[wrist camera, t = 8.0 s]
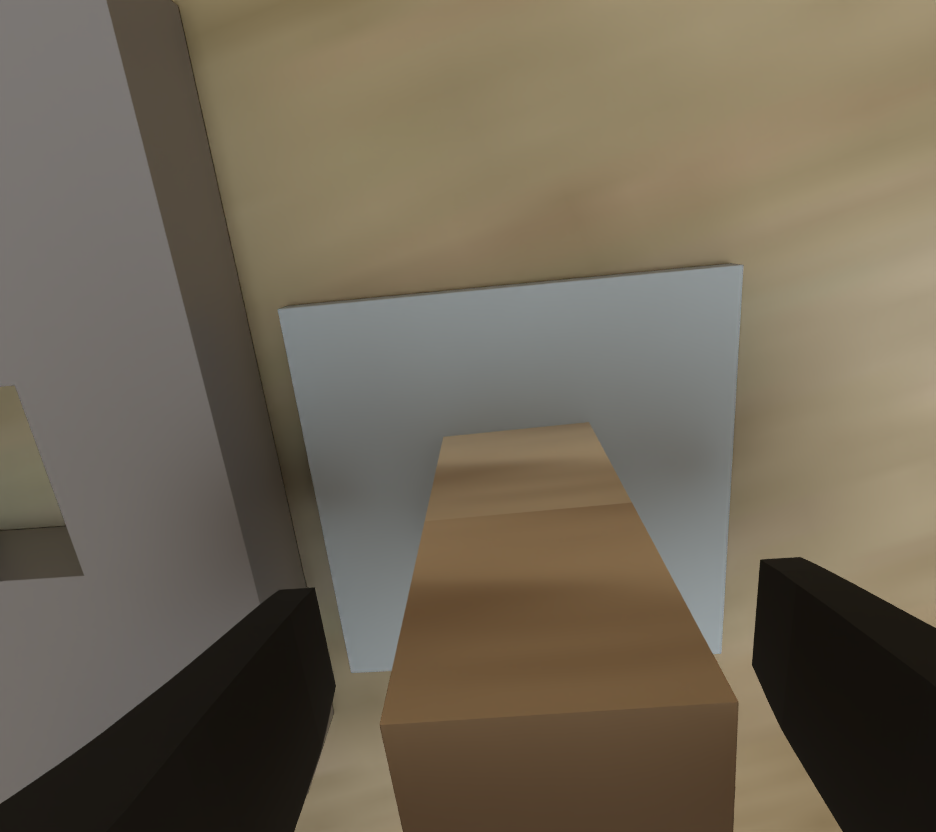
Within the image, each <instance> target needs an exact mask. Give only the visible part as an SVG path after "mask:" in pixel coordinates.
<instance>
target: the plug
mask: <svg viewBox="0 0 936 832" xmlns="http://www.w3.org/2000/svg"><path fill="white" fill-rule="evenodd" d="M737 726H738V700H737V698H736V696H735V695H734V693H733V691H732V689H731V687H730V685H729V683H728V681H727V680H726V678H725V676H724V674H723V672H722V670H721V668H720V666H719V665H718V663H717V661H716V659H715V657H714V655H713V653H712V651H711V650H710V648H709V646H708V644H707V642H706V640H705V638H704V637H703V635H702V633H701V631H700V629H699V627H698V625H697V623H696V622H695V620H694V618H693V616H692V614H691V612H690V610H689V608H688V607H687V605H686V603H685V601H684V599H683V597H682V595H681V593H680V592H679V590H678V588H677V586H676V584H675V582H674V580H673V578H672V577H671V575H670V573H669V571H668V569H667V567H666V565H665V563H664V562H663V560H662V558H661V556H660V554H659V552H658V550H657V548H656V547H655V545H654V543H653V541H652V539H651V537H650V535H649V533H648V532H647V530H646V528H645V526H644V524H643V522H642V520H641V519H640V517H639V515H638V513H637V511H636V509H635V507H634V505H633V504H632V502H631V500H630V498H629V496H628V494H627V492H626V490H625V489H624V487H623V485H622V483H621V481H620V479H619V477H618V475H617V474H616V472H615V470H614V468H613V466H612V464H611V462H610V460H609V459H608V457H607V455H606V453H605V451H604V449H603V447H602V445H601V444H600V442H599V440H598V438H597V436H596V434H595V432H594V430H593V429H592V427H591V425H590V423H589V422H585V423H575V424H565V425H555V426H545V427H536V428H526V429H516V430H506V431H496V432H486V433H476V434H466V435H456V436H446V437H443V440H442V445H441V449H440V454H439V458H438V463H437V467H436V472H435V476H434V481H433V486H432V490H431V495H430V499H429V504H428V508H427V513H426V517H425V522H424V526H423V531H422V535H421V540H420V544H419V549H418V554H417V558H416V563H415V567H414V572H413V576H412V581H411V585H410V590H409V594H408V599H407V603H406V608H405V612H404V617H403V622H402V626H401V631H400V635H399V640H398V644H397V649H396V653H395V658H394V662H393V667H392V671H391V676H390V680H389V685H388V690H387V694H386V699H385V703H384V708H383V712H382V717H381V721H380V729H381V733H382V738H383V743H384V747H385V752H386V756H387V761H388V765H389V770H390V775H391V779H392V784H393V788H394V793H395V797H396V802H397V806H398V811H399V816H400V820H401V825H402V829H403V832H733V823H734V799H735V775H736V750H737Z"/></svg>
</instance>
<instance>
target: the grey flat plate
mask: <svg viewBox="0 0 936 832" xmlns="http://www.w3.org/2000/svg"><path fill="white" fill-rule="evenodd" d="M12 385H15V387H16V390H17V393H18V396H19V398H20V401H21V404H22V407H23V409H24V412H25V415H26V418H27V420H28V423H29V426H30V428H31V431H32V434H33V437H34V439H35V442H36V445H37V448H38V450H39V453H40V456H41V459H42V461H43V464H44V467H45V470H46V472H47V475H48V478H49V480H50V483H51V486H52V489H53V491H54V494H55V497H56V500H57V502H58V505H59V508H60V511H61V513H62V516H63V519H64V522H65V524H66V526H62V527H48V528H34V529H20V530H7V531H0V804H1V803H2V802H4V801H5V800H7V799H8V798H10V797H11V796H13V795H14V794H16V793H17V792H18V791H20V790H21V789H23V788H24V787H26V786H27V785H29V784H30V783H32V782H33V781H35V780H36V779H38V778H39V777H40V776H42V775H43V774H45V773H46V772H48V771H49V770H51V769H52V768H54V767H55V766H57V765H58V764H59V763H61V762H62V761H64V760H65V759H66V758H68V757H69V756H71V755H72V754H73V753H75V752H76V751H78V750H79V749H80V748H82V747H83V746H85V745H86V744H87V743H89V742H90V741H91V740H93V739H94V738H95V737H97V736H98V735H100V734H101V733H102V732H104V731H105V730H106V729H107V728H109V727H110V726H111V725H113V724H114V723H115V722H116V721H118V720H119V719H120V718H122V717H123V716H124V715H125V714H127V713H128V712H129V711H131V710H132V709H133V708H134V707H136V706H137V705H138V704H140V703H141V702H142V701H143V700H145V699H146V698H147V697H148V696H150V695H151V694H152V693H154V692H155V691H156V690H157V689H159V688H160V687H161V686H163V685H164V684H165V683H166V682H168V681H169V680H170V679H171V678H173V677H174V676H175V675H176V674H178V673H179V672H180V671H181V670H182V669H184V668H185V667H186V666H187V665H188V664H190V663H191V662H192V661H193V660H194V659H196V658H197V657H198V656H199V655H200V654H202V653H203V652H204V651H205V650H206V649H208V648H209V647H210V646H211V645H212V644H213V643H215V642H216V641H217V640H218V639H219V638H221V637H222V636H223V635H224V634H225V633H227V632H228V631H229V630H230V629H231V628H232V627H234V626H235V625H236V624H237V623H238V622H240V621H241V620H242V619H243V618H244V617H245V616H247V615H248V614H249V613H250V612H251V611H253V610H254V609H255V608H256V607H257V606H259V605H260V604H261V603H262V602H264V601H265V600H266V599H267V598H269V597H270V596H271V595H273V594H274V593H275V592H277V591H278V590H282V589H298V588H306V584H305V579H304V575H303V570H302V566H301V561H300V557H299V552H298V548H297V543H296V539H295V534H294V530H293V525H292V520H291V516H290V511H289V507H288V502H287V498H286V493H285V489H284V484H283V480H282V475H281V471H280V466H279V462H278V457H277V453H276V448H275V443H274V439H273V434H272V430H271V425H270V421H269V416H268V412H267V407H266V403H265V398H264V394H263V389H262V385H261V380H260V376H259V371H258V366H257V362H256V357H255V353H254V348H253V344H252V339H251V335H250V330H249V326H248V321H247V317H246V312H245V308H244V303H243V299H242V294H241V289H240V285H239V280H238V276H237V271H236V267H235V262H234V258H233V253H232V249H231V244H230V240H229V235H228V231H227V226H226V222H225V217H224V212H223V208H222V203H221V199H220V194H219V190H218V185H217V181H216V176H215V172H214V167H213V163H212V158H211V154H210V149H209V145H208V140H207V135H206V131H205V126H204V122H203V117H202V113H201V108H200V104H199V99H198V95H197V90H196V86H195V81H194V77H193V72H192V68H191V63H190V58H189V54H188V49H187V45H186V40H185V36H184V31H183V27H182V22H181V18H180V13H179V9H178V5H177V4H175V3H174V2H173V1H171V0H0V387H1V386H12ZM333 715H334V711H333V706H331V711H330V716H329V721H328V725H327V730H326V734H325V738H324V742H323V746H324V743H325V739H326V736H327V733H328V730H329V727H330V724H331V721H332V718H333ZM322 749H323V747H322ZM321 752H322V751H321ZM320 755H321V754H320ZM319 758H320V757H319ZM318 761H319V760H318ZM317 764H318V763H317ZM316 767H317V766H316ZM315 771H316V769H315ZM314 774H315V772H314ZM313 777H314V775H313ZM312 780H313V778H312ZM311 783H312V781H311ZM310 786H311V784H310ZM310 786H309V789H310ZM309 789H308V792H309ZM308 792H307V794H308Z"/></svg>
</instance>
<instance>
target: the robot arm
mask: <svg viewBox="0 0 936 832" xmlns="http://www.w3.org/2000/svg"><path fill="white" fill-rule="evenodd" d="M752 666H753V668H754V670H755V673H756V675H757V677H758V679H759V682H760V684H761V686H762V689H763V691H764V693H765V695H766V698H767V700H768V702H769V704H770V706H771V708H772V710H773V713H774V715H775V717H776V719H777V721H778V723H779V725H780V727H781V729H782V731H783V733H784V735H785V736H786V738H787V740H788V741H789V743H790V745H791V747H792V748H793V750H794V752H795V753H796V755H797V757H798V758H799V760H800V762H801V763H802V765H803V767H804V768H805V770H806V772H807V773H808V775H809V777H810V778H811V780H812V782H813V783H814V785H815V787H816V788H817V790H818V792H819V793H820V795H821V797H822V798H823V800H824V801H825V803H826V805H827V806H828V808H829V810H830V811H831V813H832V815H833V816H834V818H835V820H836V821H837V823H838V824H839V826H840V828H841V829H842V831H843V832H936V628H935V627H933V626H931V625H929V624H927V623H925V622H923V621H921V620H920V619H918V618H916V617H914V616H912V615H910V614H908V613H907V612H905V611H903V610H901V609H899V608H897V607H895V606H894V605H892V604H890V603H888V602H886V601H884V600H882V599H881V598H879V597H877V596H875V595H873V594H871V593H870V592H868V591H866V590H864V589H862V588H860V587H858V586H857V585H855V584H853V583H851V582H849V581H847V580H845V579H843V578H842V577H840V576H838V575H836V574H834V573H832V572H830V571H828V570H826V569H824V568H822V567H820V566H818V565H816V564H814V563H812V562H810V561H808V560H806V559H803V558H801V557H795V558H779V559H763V560H760V570H759V583H758V595H757V608H756V621H755V633H754V646H753V659H752ZM335 687H336V685H335V680H334V675H333V671H332V666H331V662H330V657H329V652H328V648H327V643H326V638H325V634H324V629H323V624H322V620H321V615H320V610H319V606H318V601H317V597H316V592H315V587H314V588H298V589H282V590H278V591H277V592H275V593H274V594H273V595H271V596H270V597H269V598H267V599H266V600H265V601H264V602H262V603H261V604H260V605H259V606H257V607H256V608H255V609H254V610H253V611H251V612H250V613H249V614H248V615H247V616H245V617H244V618H243V619H242V620H241V621H240V622H238V623H237V624H236V625H235V626H234V627H232V628H231V629H230V630H229V631H228V632H227V633H225V634H224V635H223V636H222V637H221V638H219V639H218V640H217V641H216V642H215V643H213V644H212V645H211V646H210V647H209V648H208V649H206V650H205V651H204V652H203V653H202V654H200V655H199V656H198V657H197V658H196V659H194V660H193V661H192V662H191V663H190V664H188V665H187V666H186V667H185V668H184V669H182V670H181V671H180V672H179V673H178V674H176V675H175V676H174V677H173V678H171V679H170V680H169V681H168V682H166V683H165V684H164V685H163V686H161V687H160V688H159V689H157V690H156V691H155V692H154V693H152V694H151V695H150V696H148V697H147V698H146V699H145V700H143V701H142V702H141V703H140V704H138V705H137V706H136V707H134V708H133V709H132V710H131V711H129V712H128V713H127V714H125V715H124V716H123V717H122V718H120V719H119V720H118V721H116V722H115V723H114V724H113V725H111V726H110V727H109V728H107V729H106V730H105V731H104V732H102V733H101V734H100V735H98V736H97V737H95V738H94V739H93V740H91V741H90V742H89V743H87V744H86V745H85V746H83V747H82V748H80V749H79V750H78V751H76V752H75V753H73V754H72V755H71V756H69V757H68V758H66V759H65V760H64V761H62V762H61V763H59V764H58V765H57V766H55V767H54V768H52V769H51V770H49V771H48V772H46V773H45V774H43V775H42V776H40V777H39V778H38V779H36V780H35V781H33V782H32V783H30V784H29V785H27V786H26V787H24V788H23V789H21V790H20V791H18V792H17V793H16V794H14V795H13V796H11V797H10V798H8V799H7V800H5V801H4V802H2V803H1V804H0V832H294V830H295V827H296V824H297V821H298V819H299V816H300V813H301V810H302V807H303V804H304V801H305V798H306V795H307V792H308V789H309V786H310V784H311V781H312V778H313V775H314V772H315V769H316V766H317V763H318V760H319V757H320V754H321V751H322V747H323V742H324V738H325V734H326V730H327V725H328V721H329V716H330V711H331V706H332V701H333V697H334V692H335Z"/></svg>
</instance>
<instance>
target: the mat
mask: <svg viewBox="0 0 936 832" xmlns="http://www.w3.org/2000/svg"><path fill="white" fill-rule="evenodd" d="M742 281H743V265H740V264H732V263H730V264H720V265H710V266H699V267H689V268H678V269H668V270H657V271H647V272H636V273H626V274H616V275H605V276H595V277H584V278H574V279H563V280H553V281H543V282H532V283H522V284H511V285H501V286H490V287H480V288H469V289H459V290H449V291H438V292H428V293H417V294H407V295H396V296H386V297H375V298H365V299H355V300H344V301H334V302H323V303H313V304H302V305H292V306H286V307H283V308H280V309H278V314H279V319H280V324H281V329H282V333H283V338H284V343H285V348H286V353H287V358H288V363H289V368H290V373H291V378H292V383H293V388H294V393H295V398H296V403H297V408H298V413H299V417H300V422H301V427H302V432H303V437H304V442H305V447H306V452H307V457H308V462H309V467H310V472H311V477H312V482H313V487H314V492H315V496H316V501H317V506H318V511H319V516H320V521H321V526H322V531H323V536H324V541H325V546H326V551H327V556H328V561H329V566H330V571H331V576H332V580H333V585H334V590H335V595H336V600H337V605H338V610H339V615H340V620H341V625H342V630H343V635H344V640H345V645H346V650H347V655H348V659H349V664H350V669H351V673H359V672H378V671H392V667H393V662H394V658H395V653H396V649H397V644H398V640H399V635H400V631H401V626H402V622H403V617H404V612H405V608H406V603H407V599H408V594H409V590H410V585H411V581H412V576H413V572H414V567H415V563H416V558H417V554H418V549H419V544H420V540H421V535H422V531H423V526H424V522H425V517H426V513H427V508H428V504H429V499H430V495H431V490H432V486H433V481H434V476H435V472H436V467H437V463H438V458H439V454H440V449H441V445H442V440H443V437H446V436H456V435H466V434H476V433H486V432H496V431H506V430H516V429H526V428H536V427H545V426H555V425H565V424H575V423H585V422H589V423H590V425H591V427H592V429H593V430H594V432H595V434H596V436H597V438H598V440H599V442H600V444H601V445H602V447H603V449H604V451H605V453H606V455H607V457H608V459H609V460H610V462H611V464H612V466H613V468H614V470H615V472H616V474H617V475H618V477H619V479H620V481H621V483H622V485H623V487H624V489H625V490H626V492H627V494H628V496H629V498H630V500H631V502H632V504H633V505H634V507H635V509H636V511H637V513H638V515H639V517H640V519H641V520H642V522H643V524H644V526H645V528H646V530H647V532H648V533H649V535H650V537H651V539H652V541H653V543H654V545H655V547H656V548H657V550H658V552H659V554H660V556H661V558H662V560H663V562H664V563H665V565H666V567H667V569H668V571H669V573H670V575H671V577H672V578H673V580H674V582H675V584H676V586H677V588H678V590H679V592H680V593H681V595H682V597H683V599H684V601H685V603H686V605H687V607H688V608H689V610H690V612H691V614H692V616H693V618H694V620H695V622H696V623H697V625H698V627H699V629H700V631H701V633H702V635H703V637H704V638H705V640H706V642H707V644H708V646H709V648H710V650H711V651H712V653H713V654H721V649H722V632H723V614H724V597H725V579H726V562H727V544H728V527H729V509H730V491H731V474H732V456H733V439H734V421H735V404H736V386H737V369H738V351H739V333H740V316H741V298H742Z"/></svg>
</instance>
